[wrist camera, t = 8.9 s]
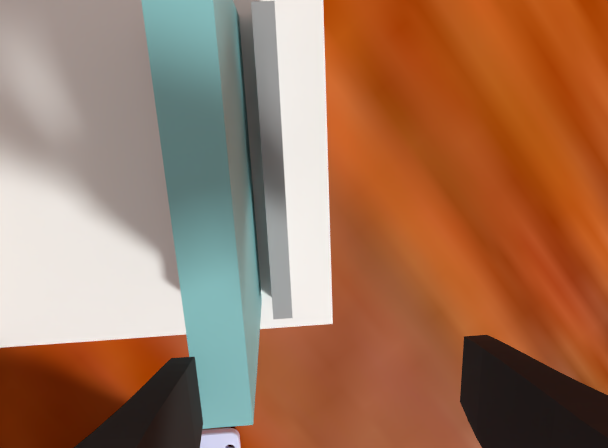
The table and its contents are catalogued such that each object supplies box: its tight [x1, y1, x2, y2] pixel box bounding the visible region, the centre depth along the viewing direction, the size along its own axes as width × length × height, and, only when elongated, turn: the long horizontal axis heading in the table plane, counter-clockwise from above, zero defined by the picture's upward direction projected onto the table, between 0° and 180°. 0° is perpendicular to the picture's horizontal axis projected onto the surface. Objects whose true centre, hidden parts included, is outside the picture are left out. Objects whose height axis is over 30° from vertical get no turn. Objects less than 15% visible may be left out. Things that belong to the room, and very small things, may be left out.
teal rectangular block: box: [141, 0, 262, 429], centre depth 14 cm, size 12×2×8 cm, turn 3°
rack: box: [0, 0, 333, 348], centre depth 17 cm, size 15×24×4 cm, turn 93°
